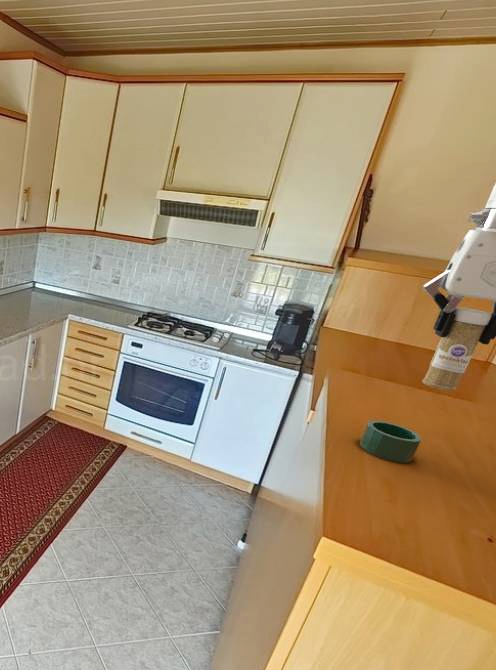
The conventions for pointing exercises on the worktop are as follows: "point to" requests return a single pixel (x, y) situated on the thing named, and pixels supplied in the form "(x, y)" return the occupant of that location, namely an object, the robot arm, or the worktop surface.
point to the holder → (390, 441)
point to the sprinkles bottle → (456, 349)
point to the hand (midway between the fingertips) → (460, 337)
